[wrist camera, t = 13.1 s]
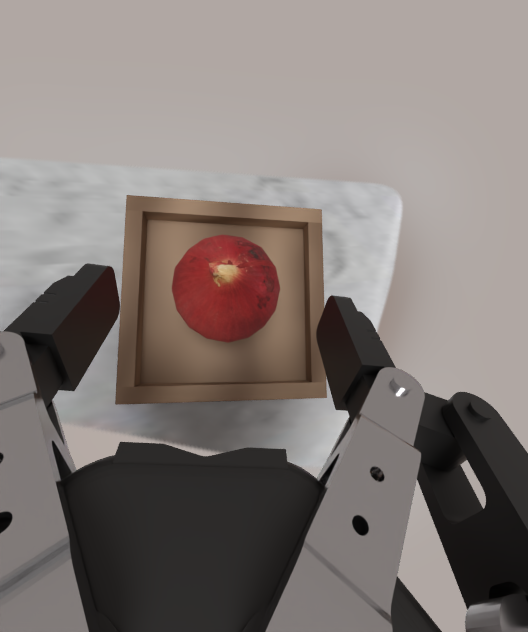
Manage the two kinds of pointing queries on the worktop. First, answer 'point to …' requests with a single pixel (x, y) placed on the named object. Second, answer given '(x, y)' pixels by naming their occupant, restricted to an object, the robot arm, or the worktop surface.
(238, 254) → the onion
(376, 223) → the worktop surface
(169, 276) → the brown wooden box
